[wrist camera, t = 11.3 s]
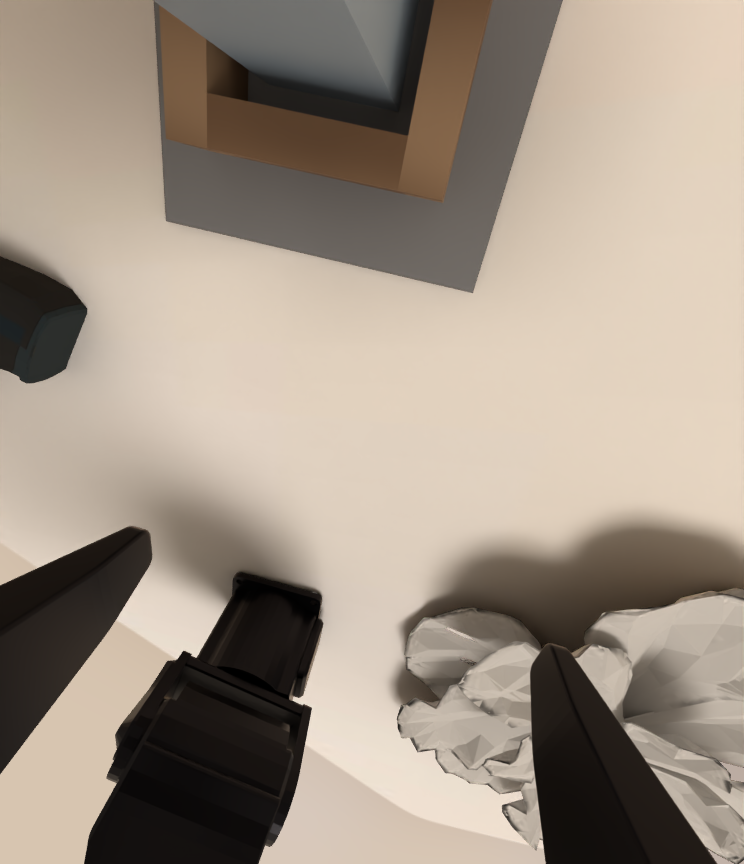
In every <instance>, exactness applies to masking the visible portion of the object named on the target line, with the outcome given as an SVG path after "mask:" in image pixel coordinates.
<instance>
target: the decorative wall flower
mask: <svg viewBox="0 0 744 864" xmlns="http://www.w3.org/2000/svg"><path fill="white" fill-rule="evenodd" d="M447 627H449V628H451V629H454V630H456V631H459V632H461V633H464V634H466V635H469V636H470V637H472V638H473V639H474V640H475V641H473V640H470V639H467V638H464V637H461V636H459V635H457V634H455V633H453V632H451V631H449V630H447V629H445V628H447ZM541 650H542V648H541V645H540V644H539V642H538V640H537V639H536V638H535V637H534V636H533V635H532V634H531V633H530V632H529V630H528V629H527V628H526V627H525V626H524V624H523V623H522V622H521V621H520V620H517V619H515V618H513V617H511V616H508V615H505V614H501V613H496V612H492V611H487V610H483V609H478V608H474V607H467V608H459V609H456V610H453V611H449V612H446V613H443V614H441V615H438V616H434V617H423V619H422V620H421V621H420V622H419V623H418V625H417V626H416V627H415V628H414V629H413V630H412V631H411V633H410V634H409V637H408V641H407V646H406V650H405V654H404V655H405V656H406V667H407V670H408V671H409V672H410V673H412V674H413V675H414V676H416V677H417V678H418V679H420V680H421V681H422V682H424V683H425V684H426V685H427V686H428V687H429V688H430V689H431V690H432V692H433V693H434V694H435V695H436V696H437V697H438V698H439V700H440V701H435V702H428V701H424V700H421V699H418V698H416V697H415V698H413V699H412V700H411V701H410V702H408V703H407V704H405V705H401V707H400V710H399V713H398V716H397V721H398V730H399V732H400V735H401V738H410V739H411V741H412V743H413V745H414V746H415V748H416V750H417V752H423V751H429V750H435V754H436V760H437V762H438V763H439V765H440V766H441V768H442V769H443V770H444V772H445V773H451V774H454V775H456V776H458V777H460V778H462V779H464V780H466V781H467V782H468V783H473V784H484V785H488V786H490V787H491V788H492V789H493V790H495V791H496V792H497V793H499V794H504V793H512V792H517V791H521V792H522V796H523V799H522V800H518V801H515V802H511V803H508V804H504V805H502V812H503V814H504V815H505V817H506V818H507V820H508V821H509V823H510V825H511V826H512V827H513V828H514V829H515V830H516V831H517V832H518V833H519V834H520V835H521V836H522V837H523V839H524V840H525V841H526V842H527V843H528V844H529V845H530V846H531V847H533V848H534V849H535V850H537V846H538V843H539V840H543V838H542V830H541V822H540V814H539V806H538V798H537V790H536V782H535V774H534V765H533V755H532V732H531V695H530V670H531V666H532V663H533V662H534V660H535V659H536V657H537V656H538V654H539V653H540V651H541ZM572 655H573V656H574V658H575V659H576V660H577V662H578V663H579V665H580V666H581V668H582V669H583V671H584V672H585V673H586V675H587V676H588V678H589V679H590V681H591V682H592V684H593V685H594V686H595V688H596V689H597V691H598V692H599V694H600V695H601V697H602V698H603V699H604V701H605V702H606V704H607V705H608V707H609V708H610V709H611V711H612V712H613V714H614V715H615V717H616V718H617V720H618V721H619V722H620V724H621V725H622V727H623V728H624V730H625V731H626V733H627V734H628V735H629V737H630V738H631V740H632V741H633V743H634V744H635V746H636V747H637V748H638V750H639V751H640V753H641V754H642V756H643V757H644V759H645V760H646V761H647V763H648V764H649V766H650V767H651V769H652V770H653V772H654V773H655V774H656V776H657V777H658V779H659V780H660V782H661V783H662V785H663V786H664V787H665V789H666V790H667V792H668V793H669V795H670V796H671V798H672V799H673V800H674V802H675V803H676V805H677V806H678V808H679V809H680V811H681V812H682V813H683V815H684V816H685V818H686V819H687V821H688V822H689V823H690V825H691V826H692V828H693V829H694V831H695V832H696V834H697V835H698V836H699V838H700V839H701V841H702V842H703V844H704V845H705V847H706V848H707V849H709V850H710V851H712V852H714V853H716V854H717V855H719V856H720V857H722V858H725V859H727V860H728V861H731V862H732V863H734V864H739V863H741V862H742V861H743V860H744V782H739V781H734V780H730V776H731V774H730V773H729V772H728V771H727V769H726V768H725V767H724V766H723V765H722V764H721V763H720V762H724V763H728V764H732V765H736V766H740V767H743V768H744V589H741V588H733V589H729V590H725V591H721V592H715V591H707V592H703V593H699V594H695V595H691V596H686V597H682V598H680V599H679V600H678V601H676V602H675V603H673V604H669V605H665V606H661V607H651V608H641V609H630V610H620V611H609V612H605V613H602V615H601V616H600V617H599V618H598V619H597V620H596V621H595V622H594V623H593V624H592V625H591V626H590V627H589V628H588V629H587V630H586V631H585V636H584V647H582V648H580V649H578V650H576V651H574V652H572ZM460 658H465V659H469V660H471V661H474V662H476V664H475V665H470V664H468V663H466V662H463V661H462V660H461V659H460ZM719 761H720V762H719Z"/></svg>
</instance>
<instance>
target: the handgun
mask: <svg viewBox="0 0 744 864" xmlns="http://www.w3.org/2000/svg"><path fill="white" fill-rule="evenodd" d="M86 315H87V308H86V307H85V306H84V304H83V303H82V302H81V301H80V299H79V298H78V297H77V295H76V294H75V293H74V292H73V290H71V289H69V288H67V287H66V286H64V285H62V284H60V283H58V282H57V281H55V280H53V279H51V278H49V277H48V276H46V275H44V274H42V273H39V272H37V271H35V270H32V269H30V268H27V267H25V266H22V265H20V264H18V263H15V262H13V261H10V260H8V259H6V258H3V257H1V256H0V369H3V370H6V371H9V372H11V373H13V374H15V375H17V376H19V377H20V380H21V381H23V382H25V383H36V382H39V381H43V380H46V379H48V378H50V377H53V376H54V375H56V374H58V373H60V372H62V371H63V370H64V369H66V367H67V363H68V360H69V358H70V355H71V353H72V350H73V348H74V345H75V343H76V340H77V338H78V335H79V333H80V330H81V327H82V325H83V322H84V320H85V317H86Z"/></svg>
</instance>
